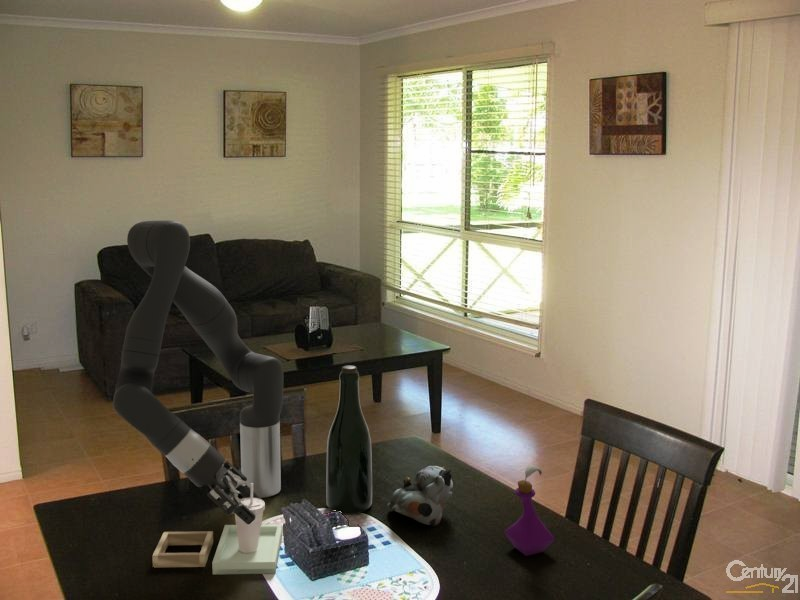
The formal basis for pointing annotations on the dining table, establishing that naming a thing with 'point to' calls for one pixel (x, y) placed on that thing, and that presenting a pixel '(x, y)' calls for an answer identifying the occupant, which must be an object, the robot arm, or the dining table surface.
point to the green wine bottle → (349, 451)
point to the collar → (183, 558)
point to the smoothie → (250, 532)
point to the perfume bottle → (529, 522)
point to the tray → (248, 563)
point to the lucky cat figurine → (424, 495)
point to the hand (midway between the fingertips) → (255, 511)
